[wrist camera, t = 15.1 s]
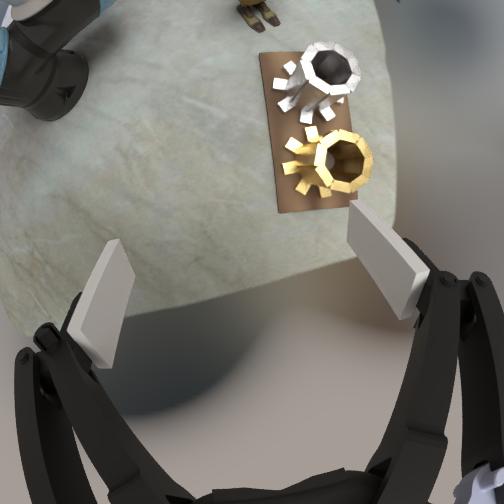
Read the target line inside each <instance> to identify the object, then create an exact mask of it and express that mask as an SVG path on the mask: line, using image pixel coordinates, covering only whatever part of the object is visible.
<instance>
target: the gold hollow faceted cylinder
mask: <svg viewBox="0 0 504 504" xmlns="http://www.w3.org/2000/svg"><path fill="white" fill-rule="evenodd" d="M303 131H304V135H305V139H306V142H305V143H303V144H301V143H300V142H298V141H296V140H295V139H293V138H292V137H290V138H289V140H288V141H287V143H286V144H285V146H284V148H286V149H287V150H289V151H291V152H292V153H294V154H295V158H294V161H292V162H287V163H282V164H281V165H282V169H283V174H284V175H287V174H291V173H296V172H297V173H298V174H299V176H300V179H299V181H298V182H297V184H296V185H295V187H294V189H295V190H297V191H299V192H300V193H302V194H303V195H305V194H306V193H307V191H308V190H309V188H310V186H311V185H312V184H313V185H316V187H317V191H318V196H319V197H320V198H324V197H329V196H332V195H331V190H330V189H332V190H337V191H341V192H346V193H350V192H352V193H353V192H355V191H356V190H357V189H359V188H360V187H362V186H363V185H364V184H366V183H367V182H368V179H367V178H370V177H371V171H372V165H373V158H371V156H372V155H373V154H372V153H371V151H370V149H369V148H368V146H367V144H366V143H365V141H364V139H363V138H362V137H359V135H358V134H355V133H351V132H348V131H344V130H340V129H339V130H334V131H333V130H331V131H329V132H328V133H326V134H323V135H320V136H318V132H317V129H316V126H313V127H307V128H304V129H303ZM326 152H329V153H330V154H332V156H333V157H334V166H333V167H332V168H331V169H330V171H328V170H327V168H326V167H325V159H326Z"/></svg>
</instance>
